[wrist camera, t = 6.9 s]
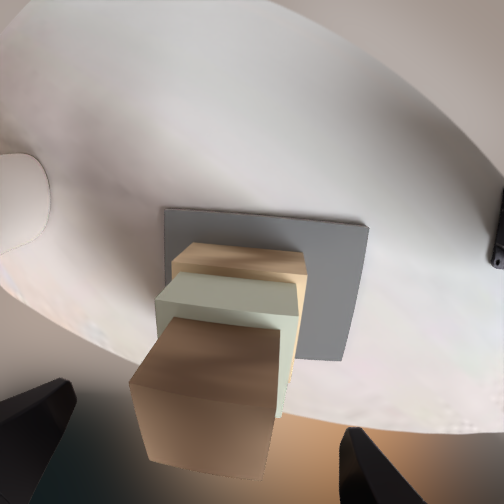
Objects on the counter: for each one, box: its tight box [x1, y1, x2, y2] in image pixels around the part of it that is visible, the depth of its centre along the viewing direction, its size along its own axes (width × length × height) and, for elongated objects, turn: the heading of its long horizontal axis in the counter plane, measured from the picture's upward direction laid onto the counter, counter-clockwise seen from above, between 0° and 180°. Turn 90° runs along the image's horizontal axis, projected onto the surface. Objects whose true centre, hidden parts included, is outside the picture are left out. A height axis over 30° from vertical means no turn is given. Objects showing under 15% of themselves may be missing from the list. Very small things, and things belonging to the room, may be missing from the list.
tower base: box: [171, 242, 308, 383], centre depth 18 cm, size 7×7×4 cm
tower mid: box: [155, 272, 299, 418], centre depth 15 cm, size 6×6×4 cm
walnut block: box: [129, 317, 280, 481], centre depth 11 cm, size 4×4×4 cm
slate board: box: [164, 208, 369, 361], centre depth 20 cm, size 13×10×1 cm
